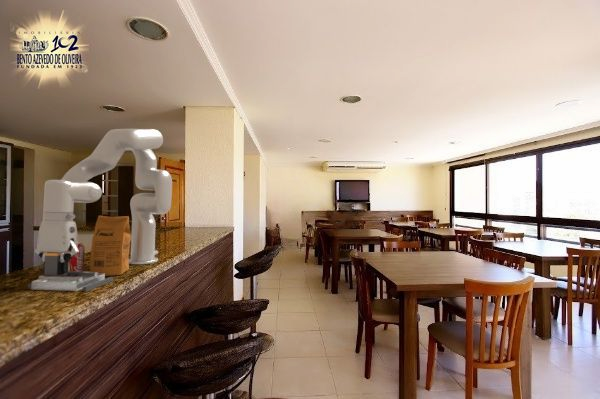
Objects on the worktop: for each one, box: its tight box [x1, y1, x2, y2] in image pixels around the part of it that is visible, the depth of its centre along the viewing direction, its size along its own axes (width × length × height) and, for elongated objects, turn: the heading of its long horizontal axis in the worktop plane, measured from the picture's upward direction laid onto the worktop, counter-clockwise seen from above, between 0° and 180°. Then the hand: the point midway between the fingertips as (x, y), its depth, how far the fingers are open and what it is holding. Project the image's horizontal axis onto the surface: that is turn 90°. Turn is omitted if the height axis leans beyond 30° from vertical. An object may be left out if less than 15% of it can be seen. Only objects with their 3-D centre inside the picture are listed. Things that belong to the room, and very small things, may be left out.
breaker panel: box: [30, 271, 106, 292], centre depth 91 cm, size 12×14×3 cm
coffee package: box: [89, 215, 131, 277], centre depth 107 cm, size 10×12×22 cm
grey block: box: [43, 252, 67, 276], centre depth 92 cm, size 4×4×8 cm
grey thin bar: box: [81, 276, 115, 292], centre depth 91 cm, size 12×1×1 cm, turn 179°
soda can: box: [68, 241, 86, 272], centre depth 103 cm, size 7×7×12 cm
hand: (55, 272), depth 92 cm, fingers closed on grey block, 4 cm apart
